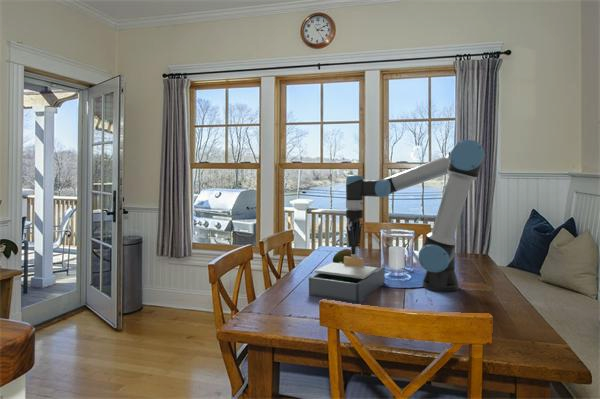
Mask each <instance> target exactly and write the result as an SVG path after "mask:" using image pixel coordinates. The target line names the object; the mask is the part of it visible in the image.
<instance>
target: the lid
mask: <svg viewBox="0 0 600 399" xmlns="http://www.w3.org/2000/svg"><path fill="white" fill-rule="evenodd" d="M377 270H378V267H374V266H369V265H367V266H366V265H364V257H363V258H362V257H358V258H356V257H346V256H345V257H344V264H342V263H333V261H332V262H330V263H327V264H326V265H322V267H319V268H317V269H315V270H314V273H315V274H317V273H322V274H330V275H337V276H345V277H353V278H360V279H364V278H366V277H367V276H369V275H370V274H372V273H374V272H375V271H377Z"/></svg>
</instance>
